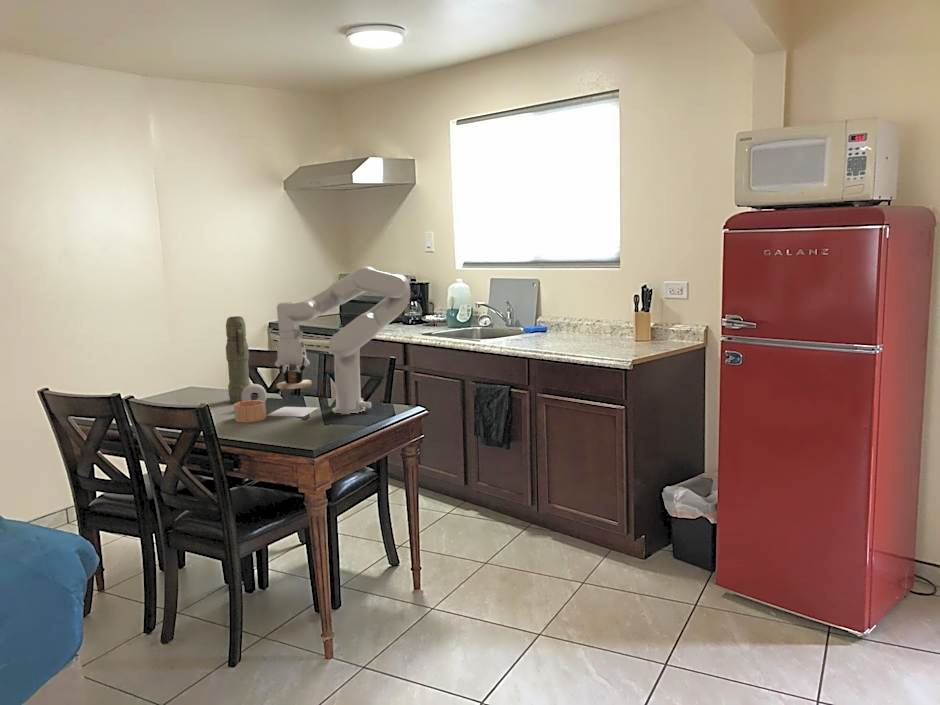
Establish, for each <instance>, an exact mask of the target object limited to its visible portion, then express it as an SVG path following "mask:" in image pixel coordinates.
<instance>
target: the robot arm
mask: <svg viewBox="0 0 940 705" xmlns="http://www.w3.org/2000/svg"><path fill="white" fill-rule="evenodd" d="M410 284H411V283H410V282H409V279H408V278H407V277H406V276H405V275H404V274H400V273H396V274H395V273H394V274H393V273H389V272H384V271H380V270H376V269H375V268H374V267H372V266H368V265H367V266H362V267H359V268H358V269H356V270H355V271H354V272H351V273H350V274H348V275H346V276H344V277H342V278H341V279H338V280H337V281H335V282H333V283H332V284H331V285H330V286H329V287H328V288H326V289H324V290H323V291H321V292H320V293H318V294H316V295H314V296H313V297H310V298H309V299H306V300H304V301H300V302H294V301H284V302H279V303H277V305H276V314H277V315H276V316H277V323H278V324H277V325H278V335H279V338H278V340H277V359H276V361H275V363H274V366H275V367H277V368H279V369H280V370H281V372H282V373H283V375H284V381H286V383H289V380H288V371H290V369H289V368H290V366H292V365H293V366H295V368H296V370H297V373H296V375H297V383H300V382H302V380H304V378H303V377H304V376H303V371H304V370H305V369H306V368H307V367H308V366H309V365H310V364H311V361H310V360H309V359H308V356H307V351H306V346H305V342H304V339H303V337H301V336H303V335H304V332H303V331H301V330H300V322H309V321H312V320H314V319H316V318H318V317H319V316H322V315H323V314H325V313H327V312H329V311H331V310H332V309H334V308H336V307H339V306H342V305H345V304H346V303H347V302H349V301H351V300H353V299H355V298H356V297H358V296H360V295H362V294H364V293H366V292H367V293H370V294H373V295H374V294H375V295H379V296H383V297H384V298H383V299H382V300H380V301H378V303H377V304H375V305H374V306H373V307H371V308H370V309H368V310H367V311H366V312H363V313H362V314H360V315H358V316H357V317H355V318H354V319H352V320H351V321H350V322H349V323H347V324H346V325H345V326H344V327H342V328H341V329H339V330H338V331H337V332H335V333H334V334H333V335H332V336H331V337H330V339H329V341H328V342H329V343H328V347H329V348H328V349H329V351H330V353H332V355H333V356H334V357H333V358H334V359H333V360H334V363H333V364H334V366H333V367H334V386H335V387H334V388H335V390H334V391H335V407H333V408H331V410H332V411H333V412H334V414H336V413H341V414H340V415H351V414H350V413H356V414H360V413H359V412H361V413H363V412H362V411H364V412H365V411H366V410H365V409H366V408H372V402H371V401H364V398H363V397H362V396H361V395H362V394H361V393H362V392H361V391H362V390H361V364H360V363H361V360H360V358H361V357H360V356H361V355H360V354H361V351H360V350H361V348H362V347H363V346H364V345H365V344H367V343H368V342H369V341H371V340H372V339H373V338H374V337H376V336H377V335H378V334H379V332H380V331H382V330H383V329H384V328H385V327H387V326H388V325H389V324H390V323H392V322H393V321H394V320H395V319H397V318H398V317H399V316H400V315H401V314H402V313H403V312H404V310H405V309H406V308H407V306H408V304H409V302H410V298H411V285H410ZM299 321H300V322H299ZM333 412H332V413H333Z"/></svg>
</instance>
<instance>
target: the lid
mask: <svg viewBox="0 0 940 705" xmlns="http://www.w3.org/2000/svg"><path fill="white" fill-rule="evenodd" d="M296 373H297V369H295V370H294V369H293V370H289V371H288V380H289V383H286V381H285V380H284V381H281V382H278V383H276V388H277V389H279V390H296V389H302V388H307V387H310V386H312V382H313V381H312V380H310V379H303V380H302V382H300V383H297V375H296Z"/></svg>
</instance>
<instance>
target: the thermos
mask: <svg viewBox="0 0 940 705" xmlns="http://www.w3.org/2000/svg"><path fill="white" fill-rule="evenodd" d="M225 322H226V323H225V332H226V334H225V335H226V345H225V355H226V357H225V358H226V361H227V365H228V366H227V367H228V369H227V370H228V381H229V382H228V386H227V388H228V389H227V390H228V397H229V403H230V402H235V403H237V402H242V399H241V395H242V392H243V390H244V389H245V388H246V387H247V386H248V385H251V384H252V383H251V382H250V373H249V372H250V371H249V359H250V353H249V344H248V342H247V337H246V336H247V333H246V332H247V330H246V322H245V320H244V317H242V316H238V315H237V316H229V317H228V318H226V321H225ZM250 399H251V400H252V394H251V395H250ZM235 403H234V404H235Z"/></svg>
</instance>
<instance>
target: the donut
mask: <svg viewBox="0 0 940 705" xmlns="http://www.w3.org/2000/svg"><path fill="white" fill-rule="evenodd" d="M250 384H251V385H248V386H247V387H246V388H245V389H244V390H243V392H242V395H241V399H242V401H250V400H252V398H251V399H250V395H251V396H252V394H254V393H255V394H257V398H256V399H255V400H261V401H265V402H266V400H267V399H268V398H267V397H268V395H267V391H266V389H265V388H264V387H263V386H262V385H261V384H258V383H250Z"/></svg>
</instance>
